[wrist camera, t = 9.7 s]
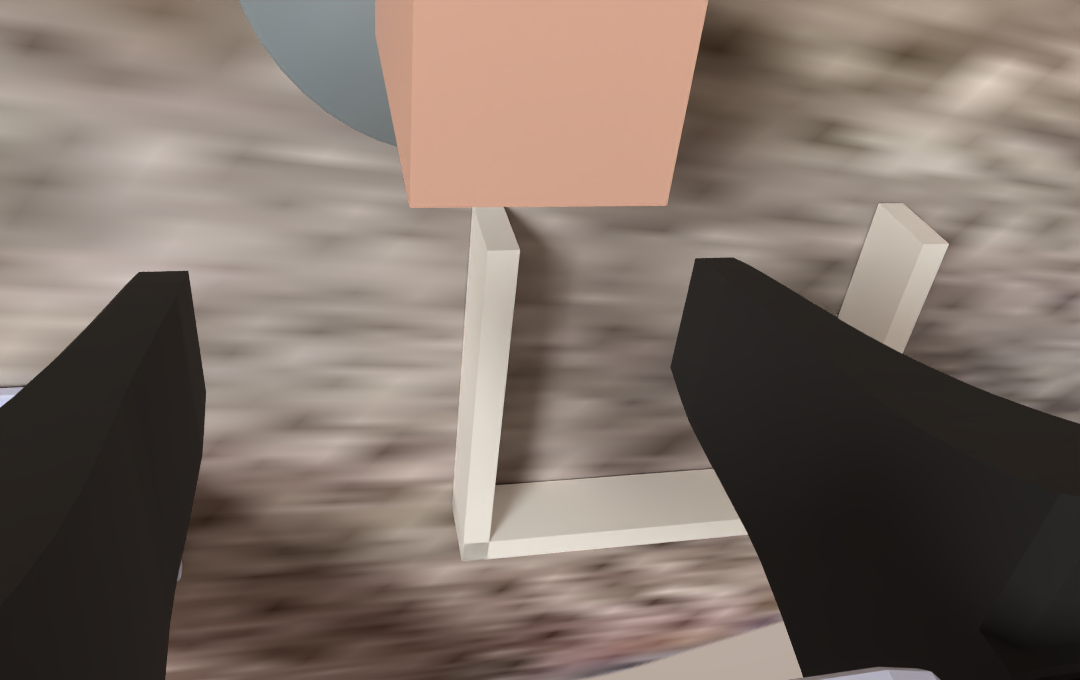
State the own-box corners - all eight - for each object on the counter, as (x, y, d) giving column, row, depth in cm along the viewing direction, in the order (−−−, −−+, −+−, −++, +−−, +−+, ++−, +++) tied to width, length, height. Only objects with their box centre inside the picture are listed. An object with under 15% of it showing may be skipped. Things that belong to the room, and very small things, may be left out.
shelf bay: (451, 505, 30) (461, 561, 28) (472, 204, 23) (487, 250, 22) (799, 477, 33) (829, 526, 31) (902, 203, 26) (949, 243, 24)
